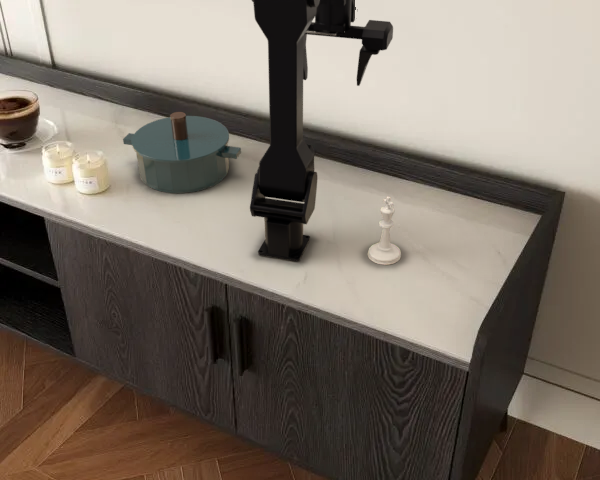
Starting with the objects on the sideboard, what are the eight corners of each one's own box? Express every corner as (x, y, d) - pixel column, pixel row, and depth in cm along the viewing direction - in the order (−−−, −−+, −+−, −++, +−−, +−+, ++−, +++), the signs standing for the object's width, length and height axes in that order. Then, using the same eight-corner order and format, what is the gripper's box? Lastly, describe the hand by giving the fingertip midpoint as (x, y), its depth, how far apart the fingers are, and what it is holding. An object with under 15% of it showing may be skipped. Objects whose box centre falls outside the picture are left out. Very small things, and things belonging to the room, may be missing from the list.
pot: (224, 201, 126) (222, 169, 123) (110, 184, 131) (104, 152, 127) (254, 157, 138) (253, 126, 134) (148, 143, 143) (144, 113, 139)
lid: (208, 172, 123) (205, 143, 120) (115, 159, 127) (110, 131, 124) (242, 127, 135) (241, 100, 132) (157, 116, 139) (153, 90, 136)
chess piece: (383, 268, 111) (388, 210, 105) (360, 254, 114) (363, 196, 108) (407, 256, 114) (413, 198, 107) (384, 241, 117) (388, 184, 110)
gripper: (402, -26, 122) (395, 69, 132) (290, -34, 126) (292, 59, 136) (389, -4, 113) (383, 95, 123) (270, -14, 118) (273, 83, 127)
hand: (331, 82), depth 128 cm, fingers open, 9 cm apart
